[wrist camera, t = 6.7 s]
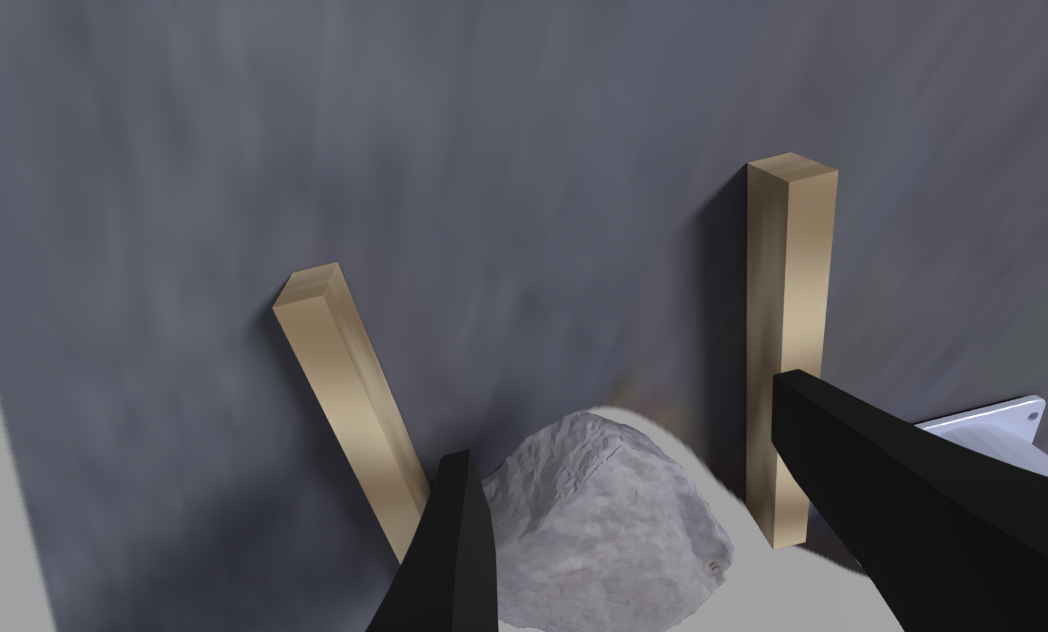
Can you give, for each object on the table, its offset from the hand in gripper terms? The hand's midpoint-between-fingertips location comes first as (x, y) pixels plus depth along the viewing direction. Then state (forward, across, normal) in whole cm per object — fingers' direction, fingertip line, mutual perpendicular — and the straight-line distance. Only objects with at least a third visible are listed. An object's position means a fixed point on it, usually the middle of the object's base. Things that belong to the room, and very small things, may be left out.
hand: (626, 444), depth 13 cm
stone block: (+8, 0, +12) cm, 14 cm away
